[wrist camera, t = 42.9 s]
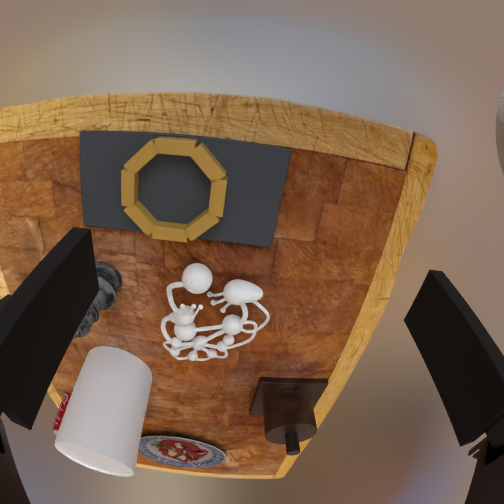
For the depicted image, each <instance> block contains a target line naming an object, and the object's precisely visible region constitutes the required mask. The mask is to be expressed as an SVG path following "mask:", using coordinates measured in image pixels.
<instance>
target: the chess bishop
mask: <svg viewBox="0 0 504 504" xmlns="http://www.w3.org/2000/svg"><path fill="white" fill-rule="evenodd" d="M96 270H97V276H98V282H99V287H100V290H99V292H98V294H97V296H96V297H95V299H94V301H93V302H92V304H91V306H90V308H89V309H88V311H87V313H86V315H85V317H84V318H83V320H82V322H81V324H80V326H79V327H78V329H77V331H76V333H75V335H74V337H73V338H76V337H84V336H86V335H87V334H88V333H89V331H90V329H91V326H92V324H93V323H94V322H96V321H97V320H98V319H99V311H100V310H108V309H111V308H112V307H113V306H114V305H115V303H116V299H117V298H116V292H117V291H118V290H119V289H120V288H121V286H122V278H121V276H120V274H119V272H118V271H117V270H116V269H115V268H114V267H113V266H111V265H110V264H107V263H102V262H100V263H96Z"/></svg>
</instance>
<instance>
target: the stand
mask: <svg viewBox="0 0 504 504" xmlns="http://www.w3.org/2000/svg"><path fill="white" fill-rule="evenodd" d="M327 385H328V379H291V378H265V377H260V380H259V383H258V386H257V389H256V392H255V396H254V399H253V402H252V405H251V408H250V415H261V416H264V427H265V438H266V440H268V441H269V442H272V443H276V444H286V452H287V455H297V454H299V453H300V447H299V442H302V441H305V440H307V439H309V438H311V437H313V436H314V435H315V434H316V432H317V426H316V421H315V415H314V410H313V408H314V406H315V405H316V403H317V401H318V400H319V398H320V397H321V395H322V393H323V392H324V390H325V388H326V387H327Z"/></svg>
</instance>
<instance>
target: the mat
mask: <svg viewBox="0 0 504 504" xmlns="http://www.w3.org/2000/svg"><path fill="white" fill-rule="evenodd" d="M159 136H163V137H176V138H188V139H197V140H198V141H197V146H198V145H199V144H200V143H201V142H203V143H204V145H205V146H206V147H207V148H208V149H209V151H210V152H211V153H212V154H213V156H214V157H215V158H216V159H217V160H218V162H219V163H220V164H221V165H222V167H223V168H224V169H225V170H226V176H228V180H227V187H226V195H225V202H224V210H223V217H220V221H219V222H218V223H217V224H215V225H214V226H212V227H211V228H210V229H208V230H207V231H205V232H204V233H203V234H201V235H200V236H198V237H197V238H199V239H207V240H215V241H224V242H232V243H240V244H248V245H256V246H265V247H271V245H272V240H273V236H274V231H275V226H276V222H277V217H278V212H279V208H280V203H281V198H282V193H283V189H284V184H285V179H286V174H287V169H288V164H289V160H290V155H291V150H290V149H288V148H282V147H276V146H270V145H264V144H257V143H250V142H243V141H236V140H228V139H220V138H211V137H202V136H191V135H180V134H167V133H151V132H128V131H82V132H80V173H81V194H82V208H83V219H84V225H87V226H96V227H105V228H114V229H122V230H131V231H140V232H143V231H142V230H141V229H140V228H139V227H138V226H137V224H136V223H135V222H134V221H133V220H132V219H131V218H130V217H129V216H128V215H127V214H126V213H125V212H124V209H125V208H126V207H127V206H122V204H121V171H122V170H123V169H124V168H125V167H124V164H126V163H127V162H128V161H129V160H130V159H131V158H132V157H133V156H134V155H135V154H136V153H137V152H138V151H139V150H140V149H141V148H142V147H144V146H145V145H146V144H147V143H148V142H149V141H150V140H152V139H154V138H155V139H156V138H158V137H159ZM211 183H212V182H211V180H210V179H209V178H208V177H207V176H206V174H205V173H204V172H203V171H202V170H201V168H200V167H199V166H198V165H197V164H196V163H195V161H194V160H193V159H192V158H191V157H190V156H180V155H168V154H157V155H156V156H155V157H153V158H152V159H151V160H150V161H149V162H148V163H147V164H146V165H145V166H143V167H142V168H141V169H140V170H139V184H138V200H139V201H140V202H141V203H142V204H143V205H144V206H145V207H146V209H147V210H148V211H149V212H150V213H151V214H152V215H153V216H154V217H155V218H156V219H157V220H158V221H164V222H173V223H181V224H188V223H189V222H190V221H192V220H193V219H194V218H196V217H197V216H198V215H200V214H201V213H202V212H204V211H205V210H206V209H208V208H209V201H210V192H211Z"/></svg>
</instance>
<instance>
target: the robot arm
mask: <svg viewBox="0 0 504 504" xmlns="http://www.w3.org/2000/svg"><path fill="white" fill-rule="evenodd" d="M99 290H100V287H99V282H98V276H97V270H96V264H95V257H94V251H93V243H92V235H91V229H87V228H78V227H73V228H72V229H71V230H70V231H69V232H68V233H67V234H66V235H65V236H64V237H63V238H62V239H61V240H60V241H59V242H58V243H57V245H56V246H55V247H54V248H53V249H52V250H51V251H50V252H49V253H48V254H47V255H46V256H45V257H44V258H43V260H42V261H41V262H40V263H39V264H38V265H37V266H36V267H35V269H34V270H33V271H32V272H31V273H30V274H29V275H28V277H27V278H26V279H25V280H24V281H23V283H22V284H21V285H20V286H19V287H18V289H17V290H16V291H15V292H14V294H13V295H9V294H8V295H7V296H5V297H4V298H2V299H1V300H0V416H1V414H2V412H4V413H5V414H6V415H7V416H8V418H9V419H10V420H11V421H13V422H14V423H16V424H19V425H21V426H23V427H25V428H27V429H29V430H31V429H32V426H33V423H34V421H35V418H36V416H37V414H38V411H39V409H40V406H41V404H42V402H43V399H44V397H45V395H46V392H47V390H48V388H49V386H50V384H51V381H52V379H53V377H54V375H55V373H56V371H57V369H58V367H59V364H60V362H61V360H62V358H63V356H64V354H65V352H66V350H67V348H68V346H69V345H70V343H71V341H72V339H73V337H74V335H75V333H76V331H77V329H78V327H79V326H80V324H81V322H82V320H83V318H84V317H85V315H86V313H87V311H88V309H89V308H90V306H91V304H92V302H93V301H94V299H95V297H96V296H97V294H98V292H99ZM404 321H405V323H406V325H407V327H408V329H409V331H410V333H411V335H412V337H413V339H414V341H415V343H416V345H417V347H418V349H419V351H420V353H421V355H422V357H423V359H424V361H425V363H426V366H427V368H428V370H429V372H430V374H431V376H432V378H433V381H434V383H435V385H436V388H437V390H438V392H439V394H440V397H441V399H442V401H443V404H444V406H445V409H446V411H447V413H448V416H449V418H450V421H451V423H452V426H453V428H454V431H455V434H456V436H457V439H458V442H459V444H460V446H463V445H465V444H468V443H471V442H473V441H475V440H476V439H477V438H478V437H480V436H481V435H482V434H483V433H486V435H487V437H486V438H485V439H483V440H482V441H481V442H479V443H478V444H477V445H476V446H474V447H473V448H472V449H471V450H470V451H469V453H468V455H471V454H472V453H474V452H475V451H476V450H477V449H480V450H479V451H478V452H477V453H475V454H474V455H473V457H474V458H476V459H477V464H476V467H475V471H474V475H473V478H472V482H471V485H470V489H469V492H468V495H467V498H466V501H465V504H504V356H503V354H502V353H501V351H500V350H499V348H498V346H497V345H496V344H495V342H494V341H493V339H492V338H491V336H490V335H489V333H488V332H487V331H486V329H485V327H484V326H483V325H482V323H481V322H480V320H479V319H478V317H477V316H476V315H475V313H474V312H473V311H472V309H471V308H470V306H469V305H468V304H467V302H466V301H465V300H464V298H463V297H462V296H461V294H460V293H459V292H458V291H457V289H456V288H455V287H454V285H453V284H452V283H451V282H450V280H449V279H448V278H447V277H446V275H445V274H444V273H443V272H442V271H436V270H429V272H428V274H427V276H426V278H425V280H424V282H423V285H422V286H421V289H420V290H419V292H418V294H417V296H416V298H415V300H414V302H413V304H412V306H411V308H410V310H409V312H408V313H407V315H406V317H405V319H404ZM0 504H30V501H29V499H28V497H27V494H26V492H25V490H24V487H23V484H22V482H21V479H20V477H19V474H18V471H17V468H16V465H15V462H14V459H13V456H12V453H11V450H10V446H9V443H8V439H7V435H6V432H5V428H4V424H3V422H2V420H1V418H0Z"/></svg>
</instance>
